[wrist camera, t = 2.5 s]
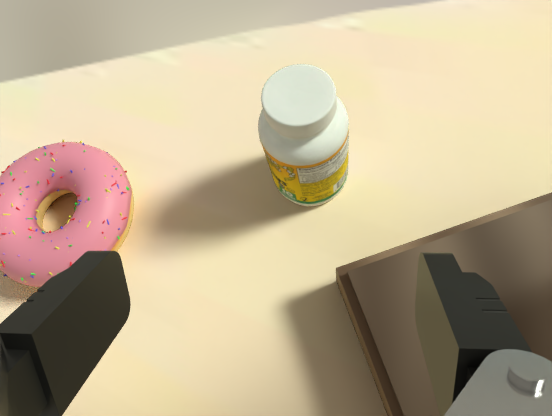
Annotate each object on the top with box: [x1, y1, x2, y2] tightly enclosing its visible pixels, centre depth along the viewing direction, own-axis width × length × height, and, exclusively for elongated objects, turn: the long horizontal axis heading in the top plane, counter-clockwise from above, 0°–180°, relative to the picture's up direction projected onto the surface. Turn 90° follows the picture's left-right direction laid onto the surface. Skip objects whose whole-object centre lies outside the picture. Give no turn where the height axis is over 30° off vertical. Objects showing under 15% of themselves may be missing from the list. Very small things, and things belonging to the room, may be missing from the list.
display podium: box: [336, 193, 552, 416], centre depth 24 cm, size 14×14×4 cm
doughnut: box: [0, 140, 134, 287], centre depth 32 cm, size 11×11×4 cm
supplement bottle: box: [258, 64, 349, 206], centre depth 28 cm, size 5×5×10 cm
